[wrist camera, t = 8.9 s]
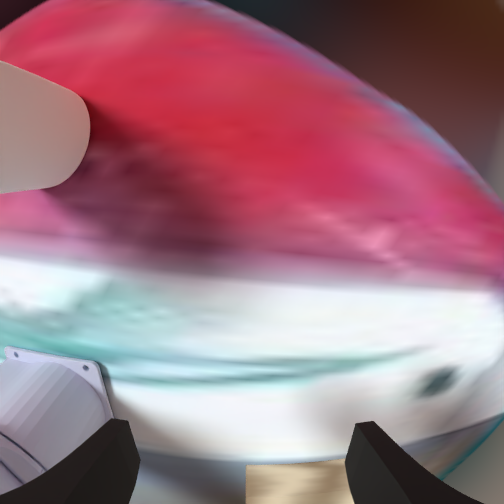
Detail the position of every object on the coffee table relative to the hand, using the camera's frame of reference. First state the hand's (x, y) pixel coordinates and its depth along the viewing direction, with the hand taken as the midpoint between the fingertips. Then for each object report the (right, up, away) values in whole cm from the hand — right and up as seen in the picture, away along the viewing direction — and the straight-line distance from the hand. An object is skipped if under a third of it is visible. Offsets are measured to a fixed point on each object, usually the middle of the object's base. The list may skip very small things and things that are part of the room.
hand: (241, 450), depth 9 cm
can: (-12, +13, +8) cm, 20 cm away
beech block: (+6, -17, +15) cm, 23 cm away
